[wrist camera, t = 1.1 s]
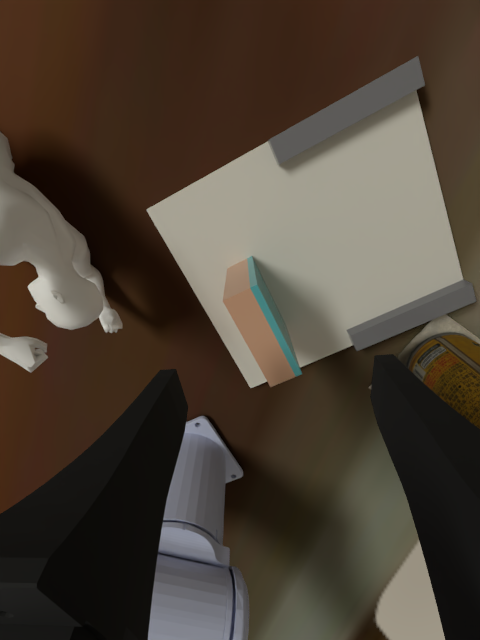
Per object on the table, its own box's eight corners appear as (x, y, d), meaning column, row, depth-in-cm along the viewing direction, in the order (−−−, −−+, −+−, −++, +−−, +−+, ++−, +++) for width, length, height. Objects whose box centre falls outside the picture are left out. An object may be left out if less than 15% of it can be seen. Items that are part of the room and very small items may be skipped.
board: (250, 383, 28) (251, 395, 27) (149, 208, 23) (142, 210, 21) (460, 293, 25) (476, 301, 24) (403, 66, 20) (417, 56, 18)
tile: (262, 335, 26) (270, 387, 19) (227, 268, 24) (222, 300, 17) (286, 324, 25) (302, 373, 19) (252, 255, 23) (257, 284, 17)
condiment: (500, 354, 27) (676, 471, 16) (426, 422, 30) (534, 561, 19) (439, 309, 26) (588, 405, 15) (366, 385, 29) (446, 514, 18)
